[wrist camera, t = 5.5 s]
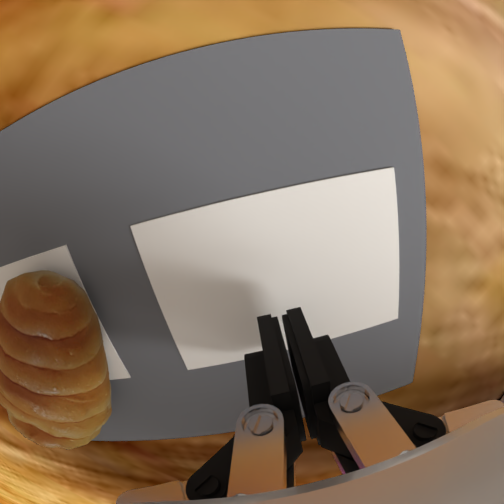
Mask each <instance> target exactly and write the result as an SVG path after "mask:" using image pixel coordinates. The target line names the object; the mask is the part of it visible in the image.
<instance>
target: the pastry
mask: <svg viewBox="0 0 504 504" xmlns="http://www.w3.org/2000/svg"><path fill="white" fill-rule="evenodd" d="M103 342H104V341H103V339H102V333H101V328H100V324H99V319H98V315H97V314H96V312H95V310H94V309H93V307H92V305H91V302H90V300H89V298H88V295H87V293H86V292H85V290H84V289H83V288H81V287H80V286H79V285H78V284H77V283H76V282H75V281H74V280H71V279H69V278H66V277H64V276H62V275H60V274H58V273H55V272H52V271H49V270H40V271H35V272H28V273H23V274H21V275H19V276H17V277H15V278H12V279H10V280H8V281H7V283H6V285H5V288H4V292H3V294H2V298H1V300H0V404H1V405H2V406H3V407H4V408H6V409H7V412H8V416H9V421H10V422H11V423H12V425H13V426H14V427H15V428H16V429H17V430H18V431H19V432H20V433H21V434H22V435H23V436H24V437H25V438H27V439H29V440H31V441H33V442H34V443H36V444H38V445H40V446H44V447H50V448H54V447H61V448H64V449H66V450H70V449H73V448H76V447H80V446H83V445H86V444H88V443H89V442H90V441H91V440H92V439H94V438H95V437H96V436H97V435H98V434H99V433H100V431H101V427H102V425H104V424H105V423H106V422H107V420H108V418H109V417H110V415H111V412H112V407H111V384H110V380H109V371H108V363H107V358H106V353H105V350H104V345H103Z"/></svg>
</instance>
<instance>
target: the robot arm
mask: <svg viewBox="0 0 504 504" xmlns="http://www.w3.org/2000/svg"><path fill="white" fill-rule="evenodd" d="M286 313H287V314H284V315H282V320H283V326H284V331H285V336H286V341H287V346H288V351H289V356H290V361H291V365H290V361H289V357H288V354H287V350H286V346H285V343H284V339H283V336H282V332H281V328H280V325H279V321H278V317H277V316H276V317H271V314H268V315H263V316H259V317H257V321H258V327H259V333H260V338H261V344H262V349H263V350H262V351H258V352H253V353H248V354H244V360H245V370H246V380H247V389H248V398H249V408H247V409H246V410H244V411H243V412H242V413H241V414H240V416H239V417H238V419H237V422H236V430H235V436H234V437H233V438H232V439H231V440H230V441H229V442H228V443H227V444H226V445H224V446H223V447H222V448H221V449H220V450H219V451H218V452H217V453H216V454H215V455H214V456H213V457H212V458H211V459H210V460H208V461H207V462H206V463H205V464H204V465H203V466H202V467H201V468H200V469H199V470H197V471H196V472H195V473H194V474H193V475H192V476H191V477H190V478H189V480H187V481H183V482H180V481H179V480H176V481H172V482H168V483H164V484H159V485H154V486H149V487H144V488H139V489H133V490H129V491H126V492H124V493H122V494H121V495H120V496H119V497H118V499H117V501H116V504H504V395H503V397H502V398H501V399H500V401H498V400H488V401H485V402H482V403H479V404H475V405H472V406H469V407H465V408H462V409H458V410H454V411H450V412H447V413H444V415H443V416H441V417H436V416H434V415H431V414H427V413H423V412H419V411H415V410H411V409H407V408H404V407H400V406H396V405H393V404H389V403H386V402H382V401H380V399H379V398H378V397H377V395H376V394H375V393H374V391H373V390H372V389H371V388H370V387H369V386H368V385H366V384H364V383H361V382H350V380H349V378H348V375H347V373H346V371H345V369H344V367H343V365H342V362H341V360H340V358H339V356H338V354H337V352H336V349H335V347H334V345H333V343H332V341H331V339H330V337H329V335H324V336H320V337H316V338H313V337H312V334H311V332H310V329H309V327H308V324H307V322H306V319H305V317H304V315H303V312H302V310H301V307H297V308H293V309H289V310H286ZM291 366H292V368H291ZM292 371H293V372H292ZM293 375H294V376H293ZM294 378H295V379H294ZM295 382H296V383H295ZM296 385H297V387H296ZM297 389H298V392H297ZM298 393H299V397H300V400H301V404H302V408H303V411H304V415H305V419H306V422H307V426H308V430H309V433H310V437H311V439H313V438H317V441H318V444H319V445H321V447H323V448H325V449H328V450H330V451H331V452H332V455H333V457H334V459H335V461H336V463H337V465H338V467H339V468H340V470H341V472H342V474H343V475H340V476H337V477H333V478H329V479H326V480H322V481H318V482H314V483H309V484H305V485H301V486H296V465H295V460H296V459H297V458H298V457H299V456H300V454H301V453H302V452H303V450H302V445H301V441H305V440H306V435H305V430H304V424H303V418H302V413H301V407H300V402H299V397H298Z"/></svg>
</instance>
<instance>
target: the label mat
mask: <svg viewBox="0 0 504 504" xmlns="http://www.w3.org/2000/svg"><path fill="white" fill-rule="evenodd" d="M40 270H49V271H52V272H55V273H58V274H60V275H62V276H64V277H66V278H69V279H71V280H74V281H75V282H76V283H77V284H78V285H79V286H80V287H81V288H83V289H84V290H85V292H86V293H87V295H88V298H89V300H90V302H91V305H92V307H93V309H94V310H95V312H96V314H97V315H98V319H99V324H100V328H101V333H102V339H103V341H104V342H103V345H104V350H105V353H106V358H107V363H108V371H109V380H110V384H111V407H112V412H111V415H110V417H109V418H108V420H107V422H106V423H105V424H104V425H102V427H101V431H100V433H99V434H98V435H97V436H96V437H95V438H94V439H92V440H91V441H140V440H161V439H175V438H186V437H196V436H205V435H213V434H220V433H227V432H234V431H235V430H236V422H237V419H238V417H239V416H240V414H241V413H242V412H243V411H244V410H246V409H247V408H249V398H248V389H247V380H246V370H245V360H244V354H248V353H253V352H258V351H262V350H263V349H262V344H261V338H260V333H259V327H258V321H257V317H259V316H263V315H268V314H271V317H276V316H277V317H278V321H279V325H280V328H281V332H282V336H283V339H284V343H285V346H286V350H287V354H288V357H289V361H290V356H289V351H288V346H287V341H286V336H285V331H284V326H283V320H282V315H284V314H287V313H286V310H289V309H293V308H297V307H301V310H302V312H303V315H304V317H305V319H306V322H307V324H308V327H309V329H310V332H311V334H312V337H313V338H316V337H320V336H324V335H329V337H330V339H331V341H332V343H333V345H334V347H335V349H336V352H337V354H338V356H339V358H340V360H341V362H342V365H343V367H344V369H345V371H346V373H347V375H348V378H349V380H350V382H361V383H364V384H366V385H368V386H369V387H370V388H371V389H372V390H373V391H374V393H375V394H376V395H377V396H378V395H381V394H383V393H386V392H389V391H392V390H394V389H397V388H400V387H402V386H405V385H407V384H410V383H412V382H413V377H414V371H415V365H416V359H417V352H418V346H419V338H420V330H421V321H422V312H423V301H424V287H425V270H426V196H425V178H424V165H423V154H422V144H421V136H420V128H419V120H418V114H417V107H416V101H415V95H414V90H413V85H412V79H411V75H410V70H409V65H408V61H407V56H406V52H405V48H404V44H403V40H402V37H401V33H400V30H394V29H360V28H357V29H323V30H308V31H296V32H286V33H278V34H270V35H263V36H256V37H250V38H244V39H238V40H233V41H228V42H223V43H218V44H214V45H209V46H205V47H201V48H196V49H192V50H188V51H185V52H181V53H177V54H174V55H170V56H167V57H163V58H160V59H157V60H154V61H151V62H147V63H144V64H141V65H139V66H136V67H133V68H130V69H127V70H124V71H122V72H119V73H116V74H114V75H111V76H109V77H106V78H104V79H101V80H99V81H96V82H94V83H92V84H89V85H87V86H85V87H82V88H80V89H78V90H76V91H74V92H72V93H69V94H67V95H65V96H63V97H61V98H59V99H57V100H55V101H53V102H51V103H49V104H47V105H45V106H43V107H42V108H40V109H38V110H36V111H34V112H32V113H31V114H29V115H27V116H25V117H23V118H22V119H20V120H18V121H17V122H15V123H13V124H12V125H10V126H8V127H7V128H5V129H4V130H2V131H0V300H1V298H2V294H3V292H4V288H5V285H6V283H7V281H8V280H10V279H12V278H15V277H17V276H19V275H21V274H23V273H28V272H35V271H40ZM290 365H291V361H290ZM291 368H292V366H291ZM292 372H293V371H292ZM293 376H294V375H293ZM294 379H295V378H294ZM295 383H296V382H295ZM296 387H297V385H296ZM297 392H298V389H297ZM298 397H299V393H298ZM299 402H300V407H301V413H302V418H304V417H305V415H304V411H303V408H302V404H301V400H300V397H299Z"/></svg>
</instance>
